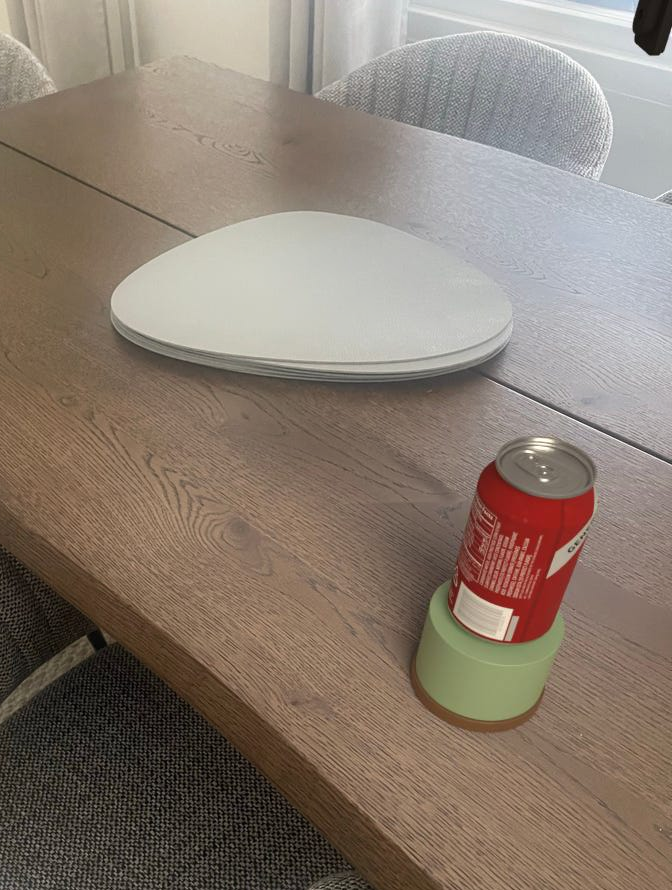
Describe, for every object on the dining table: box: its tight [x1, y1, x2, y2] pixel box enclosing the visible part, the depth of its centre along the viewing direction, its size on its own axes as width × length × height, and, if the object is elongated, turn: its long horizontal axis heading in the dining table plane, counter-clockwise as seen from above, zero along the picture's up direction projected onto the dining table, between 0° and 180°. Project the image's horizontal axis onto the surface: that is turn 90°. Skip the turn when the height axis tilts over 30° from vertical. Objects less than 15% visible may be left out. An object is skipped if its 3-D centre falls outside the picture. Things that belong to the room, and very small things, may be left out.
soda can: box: [447, 435, 600, 646], centre depth 58 cm, size 7×7×12 cm
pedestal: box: [409, 577, 566, 733], centre depth 65 cm, size 9×9×6 cm
